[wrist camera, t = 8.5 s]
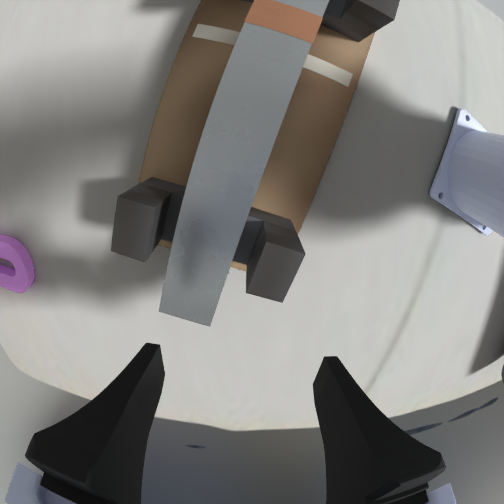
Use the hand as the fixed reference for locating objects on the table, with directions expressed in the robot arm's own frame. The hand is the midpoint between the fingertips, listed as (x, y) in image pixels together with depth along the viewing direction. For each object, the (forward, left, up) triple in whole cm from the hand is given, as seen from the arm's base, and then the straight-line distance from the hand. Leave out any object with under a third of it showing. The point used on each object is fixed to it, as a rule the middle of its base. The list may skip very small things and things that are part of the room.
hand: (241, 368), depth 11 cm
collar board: (+3, -11, -9) cm, 15 cm away
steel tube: (+3, -10, -7) cm, 12 cm away
